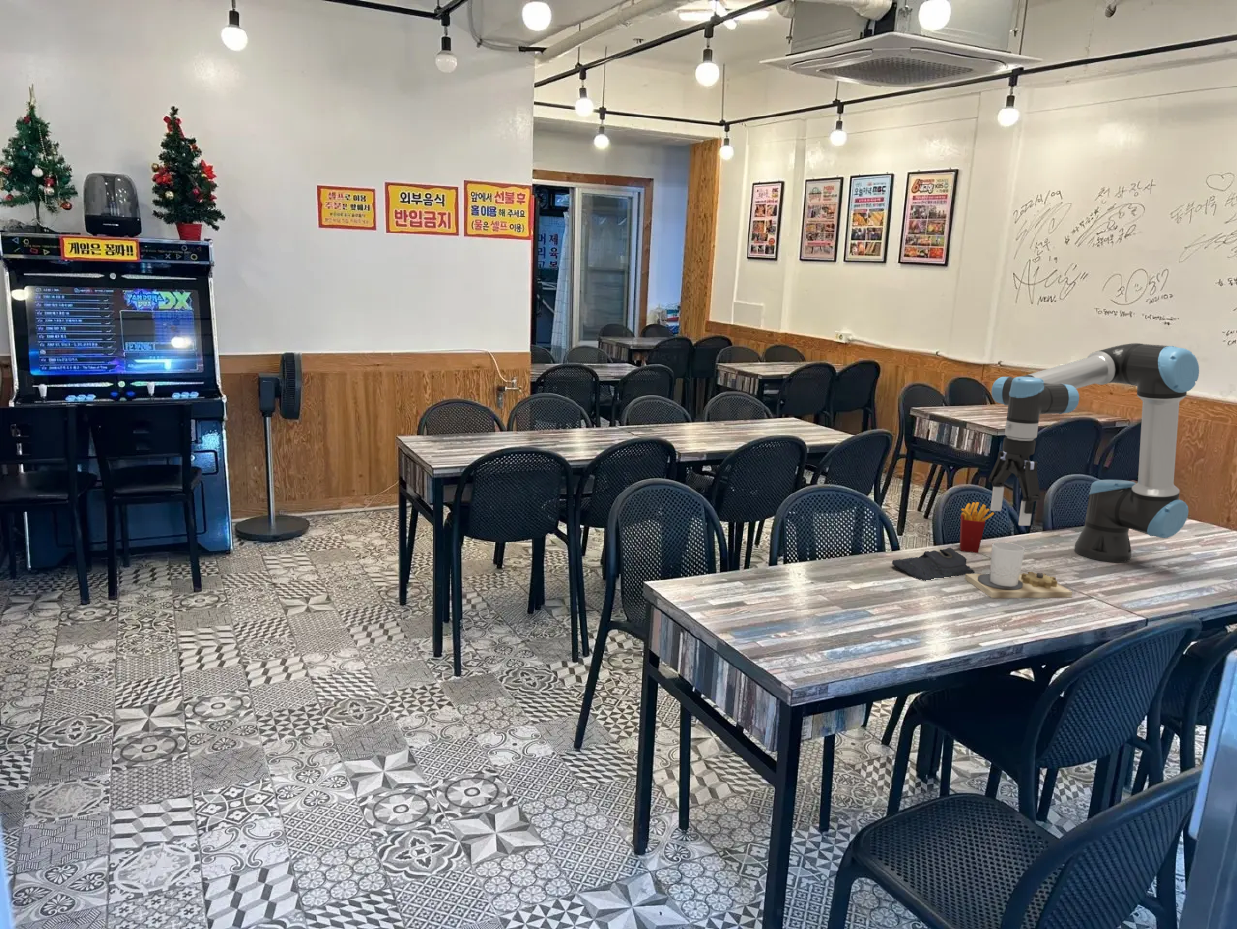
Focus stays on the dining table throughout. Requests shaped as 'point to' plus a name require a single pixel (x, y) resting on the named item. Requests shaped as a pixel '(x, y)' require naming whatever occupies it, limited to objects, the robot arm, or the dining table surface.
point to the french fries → (972, 527)
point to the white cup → (1006, 563)
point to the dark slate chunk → (935, 565)
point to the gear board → (1021, 586)
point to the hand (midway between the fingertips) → (1009, 517)
